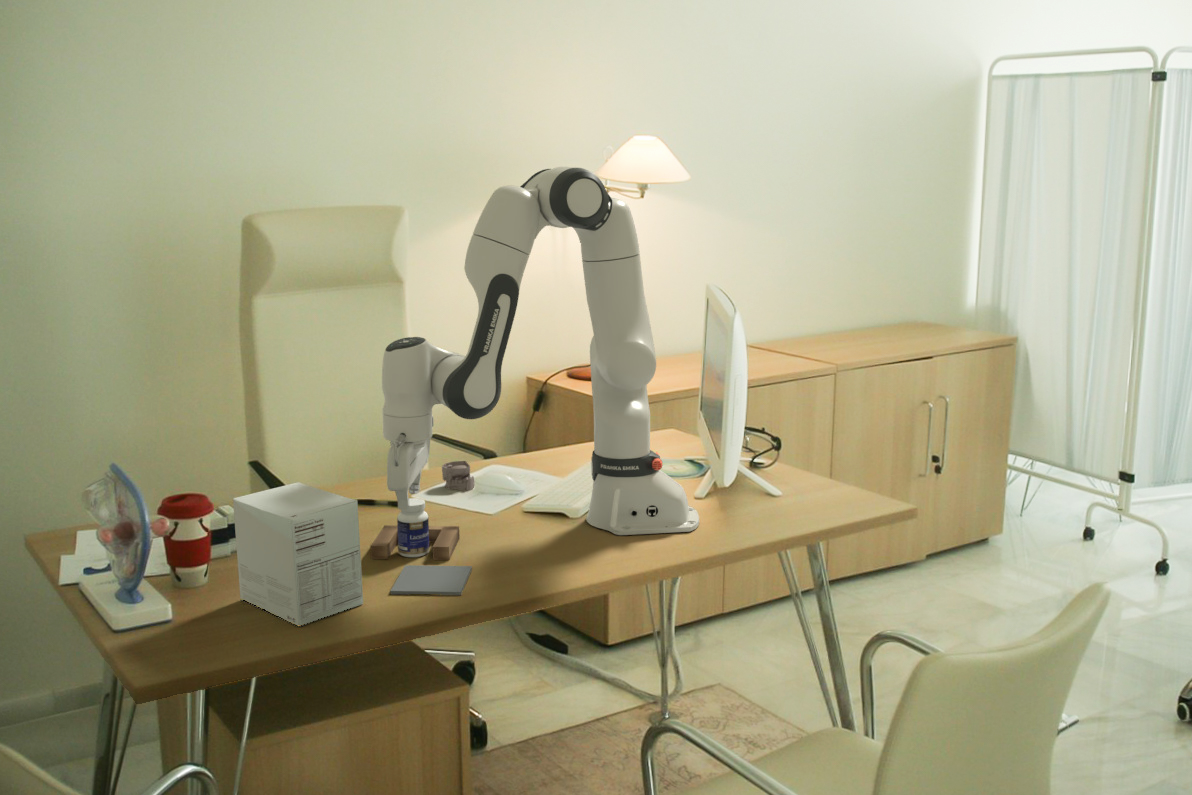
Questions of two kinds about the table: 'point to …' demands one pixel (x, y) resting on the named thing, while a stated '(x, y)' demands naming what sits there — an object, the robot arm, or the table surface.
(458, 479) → the dental mold
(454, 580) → the mat
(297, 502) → the supplement box
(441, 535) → the holder
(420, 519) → the pill bottle
